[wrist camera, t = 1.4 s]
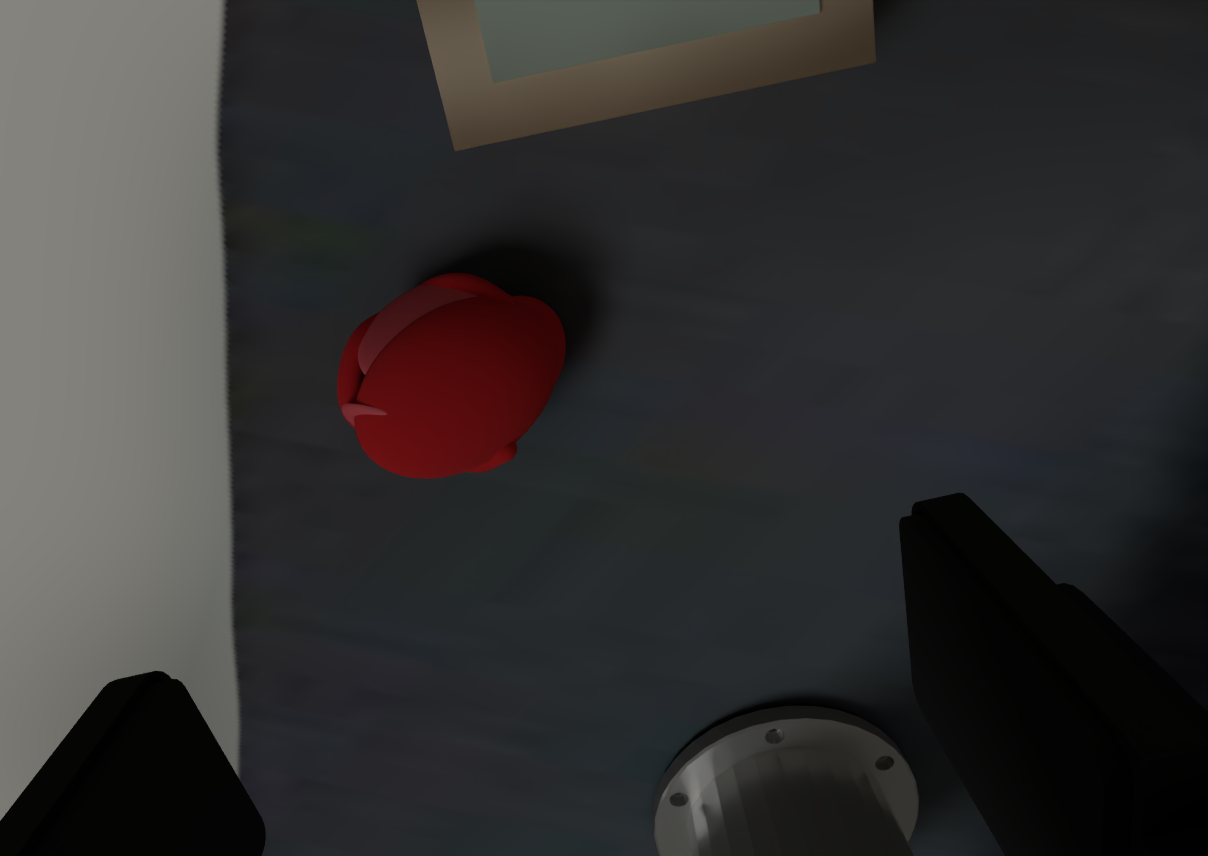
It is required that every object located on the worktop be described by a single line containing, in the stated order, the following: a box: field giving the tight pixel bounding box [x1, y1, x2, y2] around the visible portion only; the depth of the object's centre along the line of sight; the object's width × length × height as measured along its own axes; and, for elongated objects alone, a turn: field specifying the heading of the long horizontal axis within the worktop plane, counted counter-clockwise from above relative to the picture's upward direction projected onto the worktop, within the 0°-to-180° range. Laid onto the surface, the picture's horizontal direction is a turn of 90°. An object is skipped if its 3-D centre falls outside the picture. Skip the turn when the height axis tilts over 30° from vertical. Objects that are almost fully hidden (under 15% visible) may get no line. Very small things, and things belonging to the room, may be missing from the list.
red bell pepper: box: [337, 273, 566, 478], centre depth 26 cm, size 8×6×6 cm
